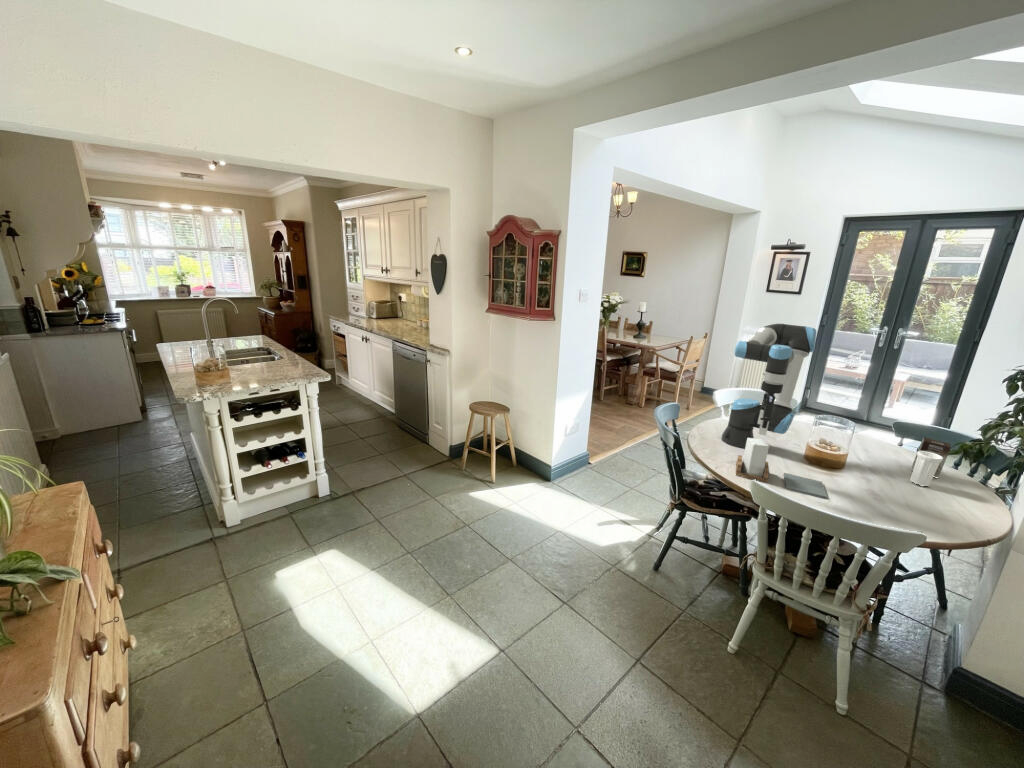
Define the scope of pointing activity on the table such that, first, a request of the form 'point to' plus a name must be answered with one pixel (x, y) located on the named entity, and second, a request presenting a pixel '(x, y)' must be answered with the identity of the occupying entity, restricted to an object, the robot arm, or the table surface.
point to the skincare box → (754, 457)
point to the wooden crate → (738, 469)
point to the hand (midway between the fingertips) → (761, 429)
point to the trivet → (804, 485)
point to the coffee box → (935, 451)
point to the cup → (925, 467)
